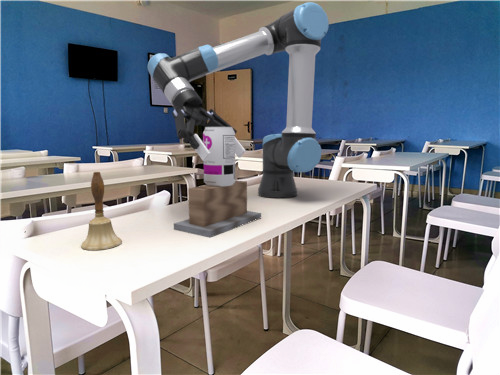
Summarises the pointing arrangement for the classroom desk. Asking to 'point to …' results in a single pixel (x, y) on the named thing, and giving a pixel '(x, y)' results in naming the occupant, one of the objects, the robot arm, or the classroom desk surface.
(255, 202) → the classroom desk surface
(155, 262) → the classroom desk surface
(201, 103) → the robot arm
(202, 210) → the stand
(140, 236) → the classroom desk surface
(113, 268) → the classroom desk surface
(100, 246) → the hand bell
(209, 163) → the supplement can
